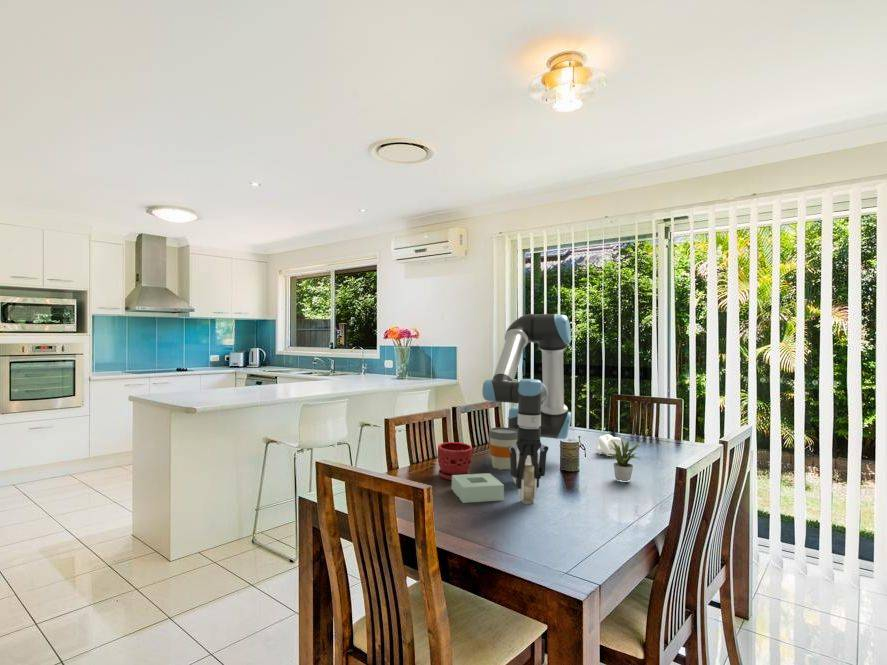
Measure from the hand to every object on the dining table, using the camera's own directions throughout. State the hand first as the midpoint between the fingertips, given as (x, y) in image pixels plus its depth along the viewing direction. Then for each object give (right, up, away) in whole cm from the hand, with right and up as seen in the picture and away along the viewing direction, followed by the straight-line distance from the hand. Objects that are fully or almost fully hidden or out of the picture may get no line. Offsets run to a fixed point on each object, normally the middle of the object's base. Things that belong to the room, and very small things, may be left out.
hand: (527, 497), depth 169 cm
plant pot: (-23, -1, +26) cm, 35 cm away
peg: (0, -1, 0) cm, 1 cm away
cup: (+2, -1, +21) cm, 21 cm away
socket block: (-16, -1, +6) cm, 17 cm away
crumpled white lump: (+48, -2, +67) cm, 82 cm away
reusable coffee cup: (-3, -1, +43) cm, 43 cm away
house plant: (+41, -2, +25) cm, 48 cm away
